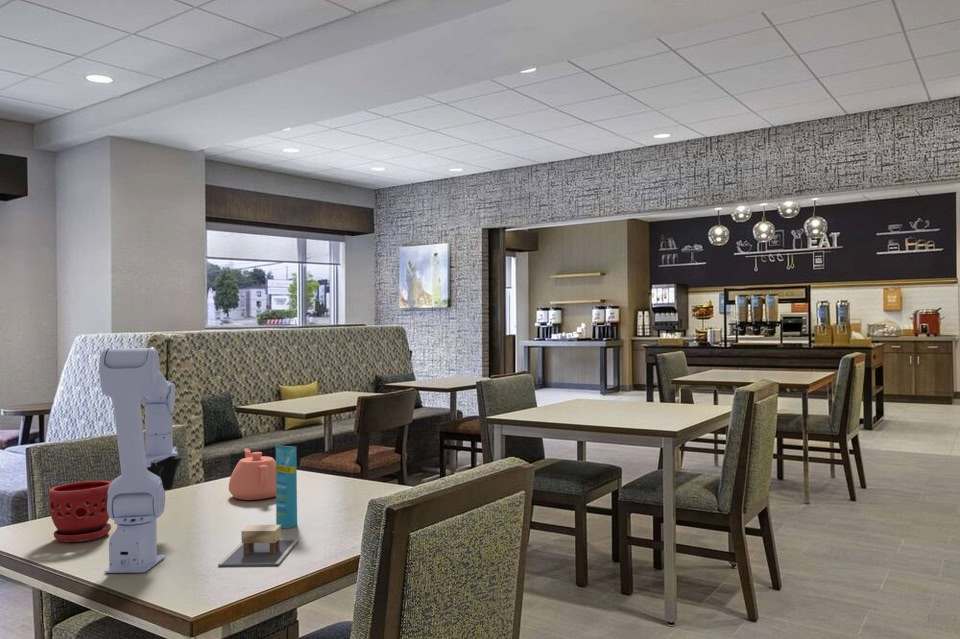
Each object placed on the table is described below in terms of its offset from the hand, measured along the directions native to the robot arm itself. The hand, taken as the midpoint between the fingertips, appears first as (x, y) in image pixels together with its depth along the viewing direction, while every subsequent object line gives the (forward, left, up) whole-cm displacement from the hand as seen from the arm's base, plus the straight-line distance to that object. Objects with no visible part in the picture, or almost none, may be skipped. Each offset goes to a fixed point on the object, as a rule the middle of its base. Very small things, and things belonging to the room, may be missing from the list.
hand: (159, 492), depth 167 cm
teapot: (+39, -10, -10) cm, 42 cm away
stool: (-14, -27, -10) cm, 32 cm away
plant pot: (0, +18, -10) cm, 21 cm away
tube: (+7, -27, -10) cm, 30 cm away
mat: (-14, -27, -10) cm, 32 cm away
